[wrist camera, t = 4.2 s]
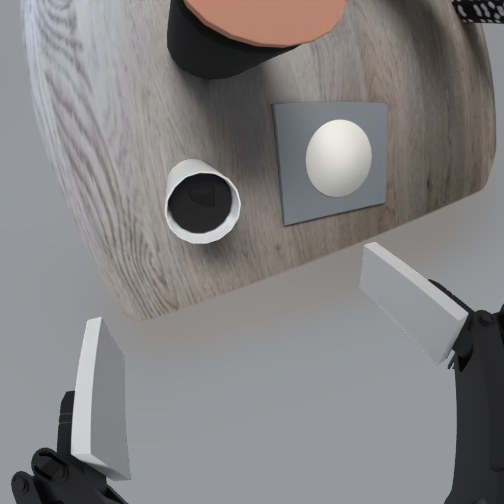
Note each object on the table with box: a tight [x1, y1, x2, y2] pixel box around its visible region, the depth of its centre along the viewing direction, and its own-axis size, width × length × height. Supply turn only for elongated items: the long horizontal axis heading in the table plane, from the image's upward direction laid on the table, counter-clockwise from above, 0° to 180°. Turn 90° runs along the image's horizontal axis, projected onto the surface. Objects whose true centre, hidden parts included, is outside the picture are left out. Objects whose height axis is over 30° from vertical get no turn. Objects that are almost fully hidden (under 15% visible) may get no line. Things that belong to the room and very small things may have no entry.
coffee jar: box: [167, 0, 346, 79], centre depth 17 cm, size 11×11×18 cm
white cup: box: [165, 159, 241, 244], centre depth 28 cm, size 7×7×10 cm
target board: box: [272, 102, 388, 225], centre depth 36 cm, size 16×18×1 cm
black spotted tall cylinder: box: [452, 0, 504, 24], centre depth 19 cm, size 8×8×20 cm
